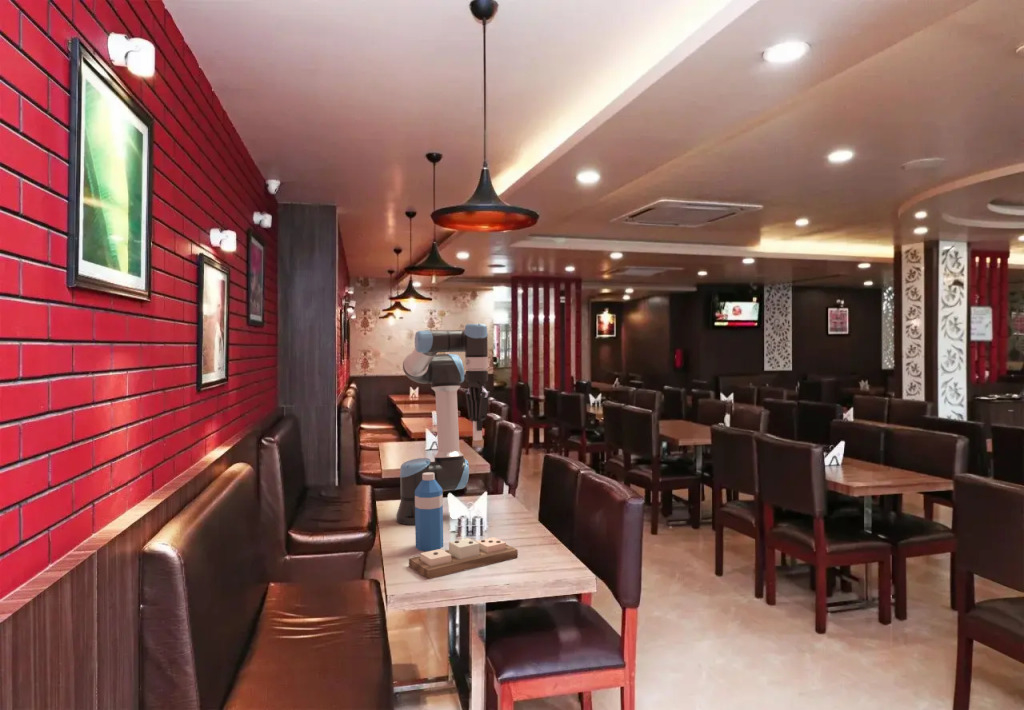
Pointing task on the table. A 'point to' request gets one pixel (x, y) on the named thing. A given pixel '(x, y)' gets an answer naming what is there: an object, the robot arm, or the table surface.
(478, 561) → the wooden dice tray
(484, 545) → the tile three
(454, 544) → the tile two
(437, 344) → the robot arm
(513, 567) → the table surface
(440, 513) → the water bottle
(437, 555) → the tile one
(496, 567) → the table surface
